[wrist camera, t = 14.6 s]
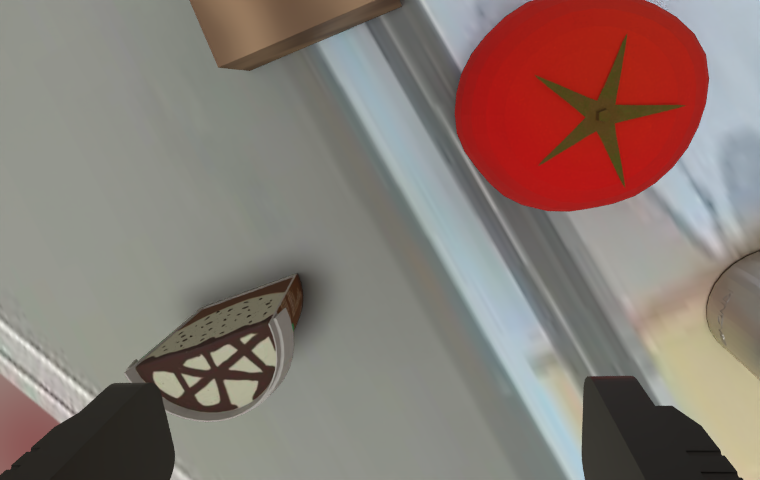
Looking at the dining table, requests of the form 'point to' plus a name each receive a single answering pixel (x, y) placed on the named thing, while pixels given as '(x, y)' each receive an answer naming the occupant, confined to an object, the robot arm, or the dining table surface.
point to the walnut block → (277, 26)
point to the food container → (226, 354)
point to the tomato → (581, 101)
